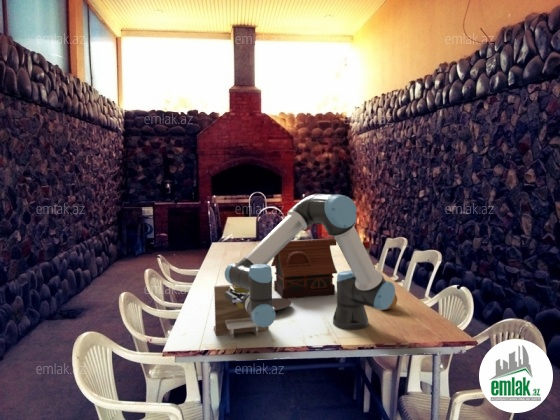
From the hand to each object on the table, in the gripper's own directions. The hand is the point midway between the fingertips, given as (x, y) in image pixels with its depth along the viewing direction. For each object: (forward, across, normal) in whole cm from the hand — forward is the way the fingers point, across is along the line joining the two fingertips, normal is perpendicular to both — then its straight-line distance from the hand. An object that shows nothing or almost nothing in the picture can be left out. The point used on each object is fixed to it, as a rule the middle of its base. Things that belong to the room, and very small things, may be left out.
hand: (242, 288), depth 179 cm
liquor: (+33, +70, -20) cm, 80 cm away
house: (+55, +45, -20) cm, 74 cm away
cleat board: (+4, 0, -20) cm, 20 cm away
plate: (+33, +16, -20) cm, 42 cm away
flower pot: (-5, 0, -6) cm, 8 cm away
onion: (+14, +72, -20) cm, 76 cm away
